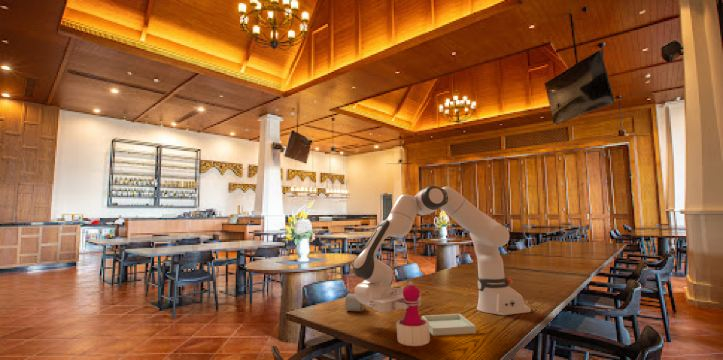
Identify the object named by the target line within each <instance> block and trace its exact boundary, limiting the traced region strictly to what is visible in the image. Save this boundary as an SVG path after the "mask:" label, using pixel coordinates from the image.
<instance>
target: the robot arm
mask: <svg viewBox="0 0 723 360" xmlns="http://www.w3.org/2000/svg"><path fill="white" fill-rule="evenodd" d="M437 210H442V212H444V213H445V214H446V215H448V217H450V218H451V219H452V220H453V221H454V222H456V224H458V225H459V227H461V228H463V229H465V230H466V231H468V232H469V237H470V239H471V241H472V244H473V248H474V252H475V255H476V262H477V273H478V276H477V289H478V301H477V305H476V309H477V311H479V312H482V313H487V314H495V315H500V316H509V315H515V314H516V315H517V314H524V313H525V314H526V313H530V312H532V310H531V307H529V305H528V306H527V305H526V304H525V300H524V298H523V296H522V295H521V294H520V293H519V292H518V291H516V290H515V289H513V288H512V287H511V286H510V285H513V283H514V280H513V279H511V278H506V277H505V270H504V259H503V257H502V256H501V253H500V251H499V248H501V247H504V246H505V245H506V244H508V242H509V240H510V232H509V230H508V228H507V227H506V226H505V225H502V224H501V223H499V222H497V221H496V220H495V219H494V218H492V217H490V216H489V215H487V214H486V213H484V212H483V211H481V210H480V209H479V208H477V207H476V206H475V205H474V204H473V203H471V202H470V201H469V200H468V199H467V198H465V196H464V195H462V194H461V193H460V192H458V191H457V190H455V189H454V188H452V187H450V186H446V185H445V186H443V187H439V186H438V185H430V186H426V187H425V188H423V189H421V190H419V191H418V192H417V193H416V194H415V195H411V194H405V193H404V194H400V195H399V196H398V198H397V199H396V201H395V202H394V204H393V206H392V208H391V210H390V212H389V214H388V216H387V218H386V219H384V220H381V221H380V222H379V223H378V224H377V225H376V226H375V228H374V229H373V231H372V233H371V235H370V236H369V238H368V240H367V241H366V243H365V245H364V246H363V248H362V249H361V251H360V252H359V253H358V254H357V256H356V257H355V258H354V260H353V264H352V270H353V274H354V276H355V277H356V278H358V279H361V280H363V281H362V282H359V283H358V284H357V285H355V288H354V294H355V297H356V299H357V300H358V301H359V302H360V303H362V304H364V305H365V306H367V307H370V308H373V310H375V311H378V312H380V313H388V312H393V311H395V310H406V309H408V308H409V304H408V303H405V298H404V296H403V290H404V288H405V287H404V286H392V284H393V280H394V270H393V267H391V266H389V265H388V264H387V263H385V262H383V261H382V260H380V259H378V258H377V257H376V254H377V252H378V251H379V249H380V247H381V246H382V244H383V242H384V240H385V239H386V238H388V237H393V238H402V237H406V236H407V235H408V234H409V233H410V231H411V229H413V228H412V227H413V224H414V222H415V220H416V217H417V216H419V217H425V216H427V215H430V214H433V213H435V211H437ZM418 300H419V304H418V307H419V306H421V305H422V294H421V293H420V296H419V298H418Z"/></svg>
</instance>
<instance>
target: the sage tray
mask: <svg viewBox="0 0 723 360" xmlns="http://www.w3.org/2000/svg"><path fill="white" fill-rule="evenodd" d="M421 318H422V319H425V320H427V321H428V322H429V332H430V335H432V336H433V337H434V336H451V335H466V334H468V335H470V334H477V326H476V325H475V324H474V323H473V322H471V321H470V320H469V319H467V318H466V317H465V316H464V315H462V314H460V313H450V314H449V313H448V314H431V315H421Z"/></svg>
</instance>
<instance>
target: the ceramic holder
mask: <svg viewBox="0 0 723 360" xmlns="http://www.w3.org/2000/svg"><path fill="white" fill-rule="evenodd" d="M404 318H405V317H403V318H398V320H396V340H397V342H398V343H399V344H401V345H404V346H408V347H409V346H410V347H420V346H425V345H427V344H429V343H430V341H431V336H430V335H431V332H430V331H429V322H428V321H427V320H425V319H422V317H420V318H421V321H422V323H423V325H421V326H405V325H403V320H404Z"/></svg>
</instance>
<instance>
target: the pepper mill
mask: <svg viewBox="0 0 723 360" xmlns="http://www.w3.org/2000/svg"><path fill="white" fill-rule="evenodd" d="M420 294H421V292H420V289H419V288H418V287H417V286H415V285H414V282H413V281H411V280H410V281H409V282H408V285H406V286H405V287H404V290H403V296H404V298H405V303H408V304H409V308H408V309H405V315H404V317H403V318H404V320H403V325H405V326H421V325H423V323H422V321H421V318H422V317H421V316H420V314H419V309H418V308H419V306H418V304H419V300H418V298H419V296H420Z"/></svg>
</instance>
